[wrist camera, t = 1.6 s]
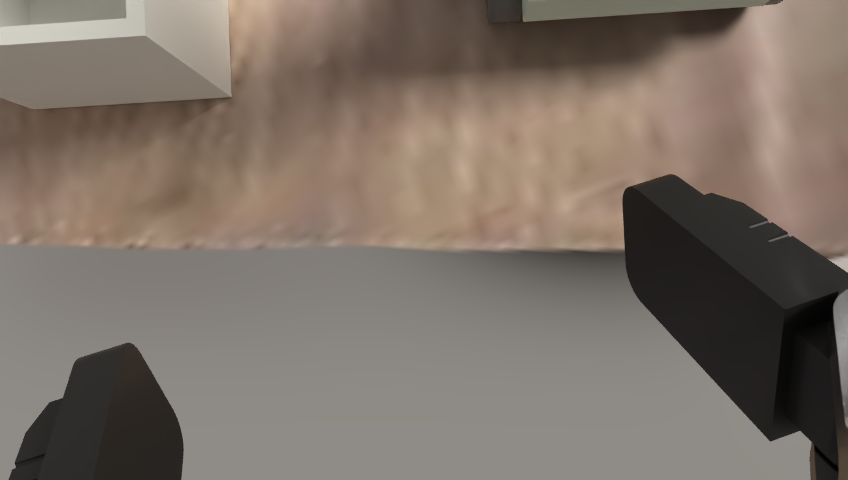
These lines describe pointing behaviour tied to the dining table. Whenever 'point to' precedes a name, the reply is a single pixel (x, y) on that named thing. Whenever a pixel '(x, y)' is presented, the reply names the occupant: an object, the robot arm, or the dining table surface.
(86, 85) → the bin
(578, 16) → the trolley
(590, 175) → the dining table surface
